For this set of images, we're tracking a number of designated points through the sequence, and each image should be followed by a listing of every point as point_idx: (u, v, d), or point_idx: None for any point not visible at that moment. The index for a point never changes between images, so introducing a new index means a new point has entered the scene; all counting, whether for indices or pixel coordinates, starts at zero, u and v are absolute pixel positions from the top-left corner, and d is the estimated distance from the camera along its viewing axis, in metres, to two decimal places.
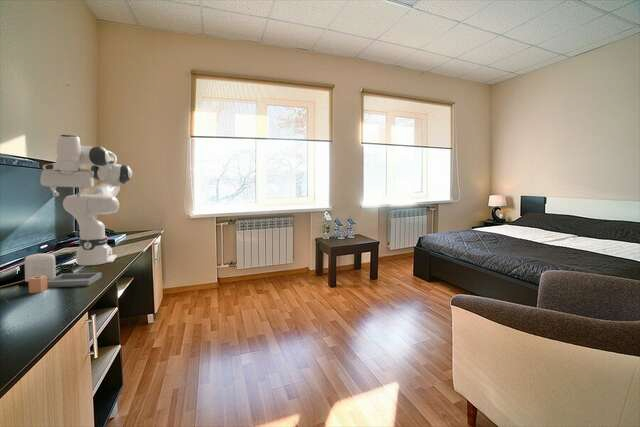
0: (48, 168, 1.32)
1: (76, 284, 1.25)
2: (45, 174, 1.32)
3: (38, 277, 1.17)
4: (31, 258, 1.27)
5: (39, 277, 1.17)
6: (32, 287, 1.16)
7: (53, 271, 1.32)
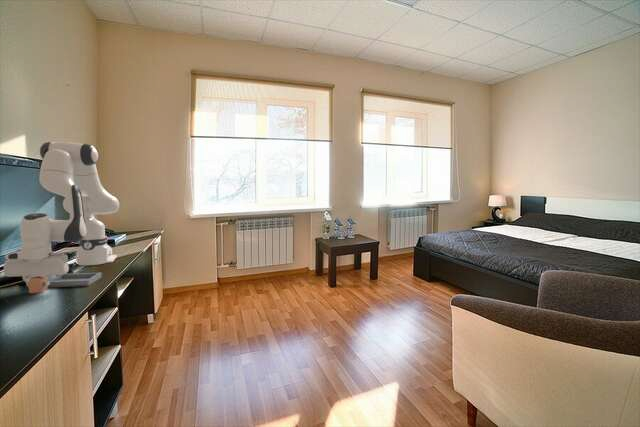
0: (12, 258, 1.12)
1: (76, 284, 1.25)
2: (9, 264, 1.13)
3: (38, 277, 1.17)
4: None
5: (39, 277, 1.17)
6: (32, 287, 1.16)
7: None
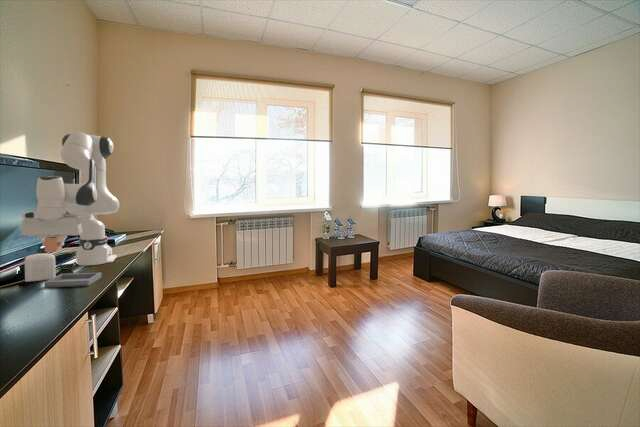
0: (28, 217, 1.16)
1: (76, 284, 1.25)
2: (26, 223, 1.17)
3: (53, 237, 1.21)
4: (31, 258, 1.27)
5: (54, 237, 1.21)
6: (47, 246, 1.20)
7: (53, 271, 1.32)
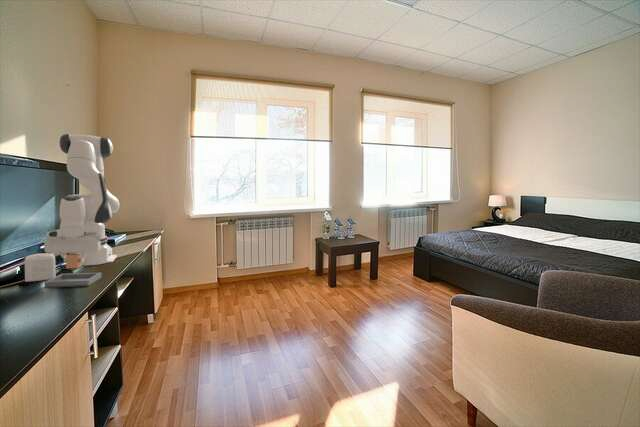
0: (52, 235, 1.23)
1: (76, 284, 1.25)
2: (49, 241, 1.24)
3: (74, 254, 1.28)
4: (31, 258, 1.27)
5: (75, 254, 1.28)
6: (69, 263, 1.26)
7: (53, 271, 1.32)
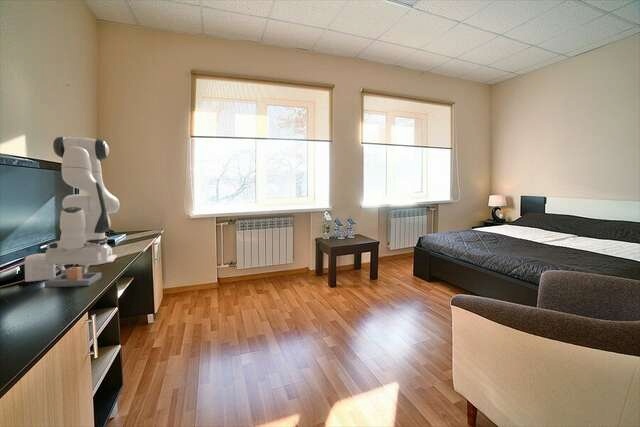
0: (52, 247, 1.24)
1: (76, 284, 1.25)
2: (49, 253, 1.24)
3: (75, 268, 1.29)
4: (31, 258, 1.27)
5: (75, 268, 1.29)
6: (69, 277, 1.27)
7: (53, 271, 1.32)
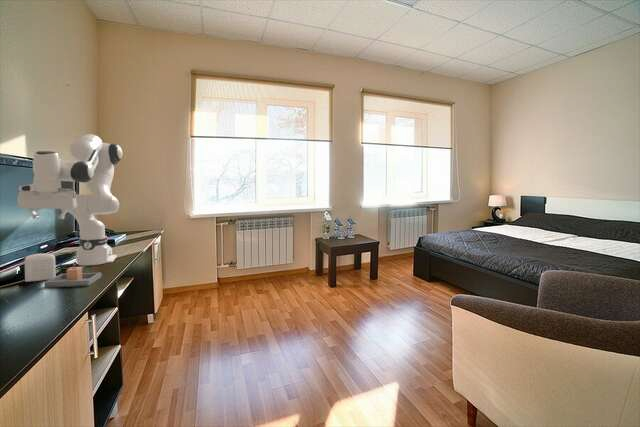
0: (25, 189, 1.21)
1: (76, 284, 1.25)
2: (22, 196, 1.21)
3: (75, 268, 1.29)
4: (31, 258, 1.27)
5: (75, 268, 1.29)
6: (69, 277, 1.27)
7: (53, 270, 1.32)
